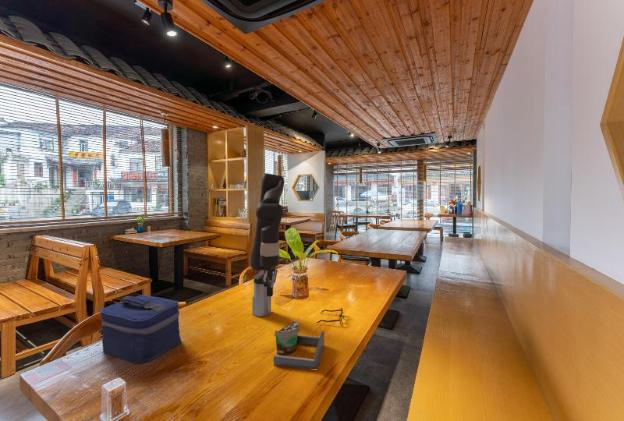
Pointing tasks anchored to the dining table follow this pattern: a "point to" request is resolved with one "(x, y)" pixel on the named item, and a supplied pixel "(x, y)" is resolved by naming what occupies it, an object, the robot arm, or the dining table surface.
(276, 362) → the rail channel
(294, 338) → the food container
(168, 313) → the lunch bag
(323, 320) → the glasses
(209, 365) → the dining table surface
